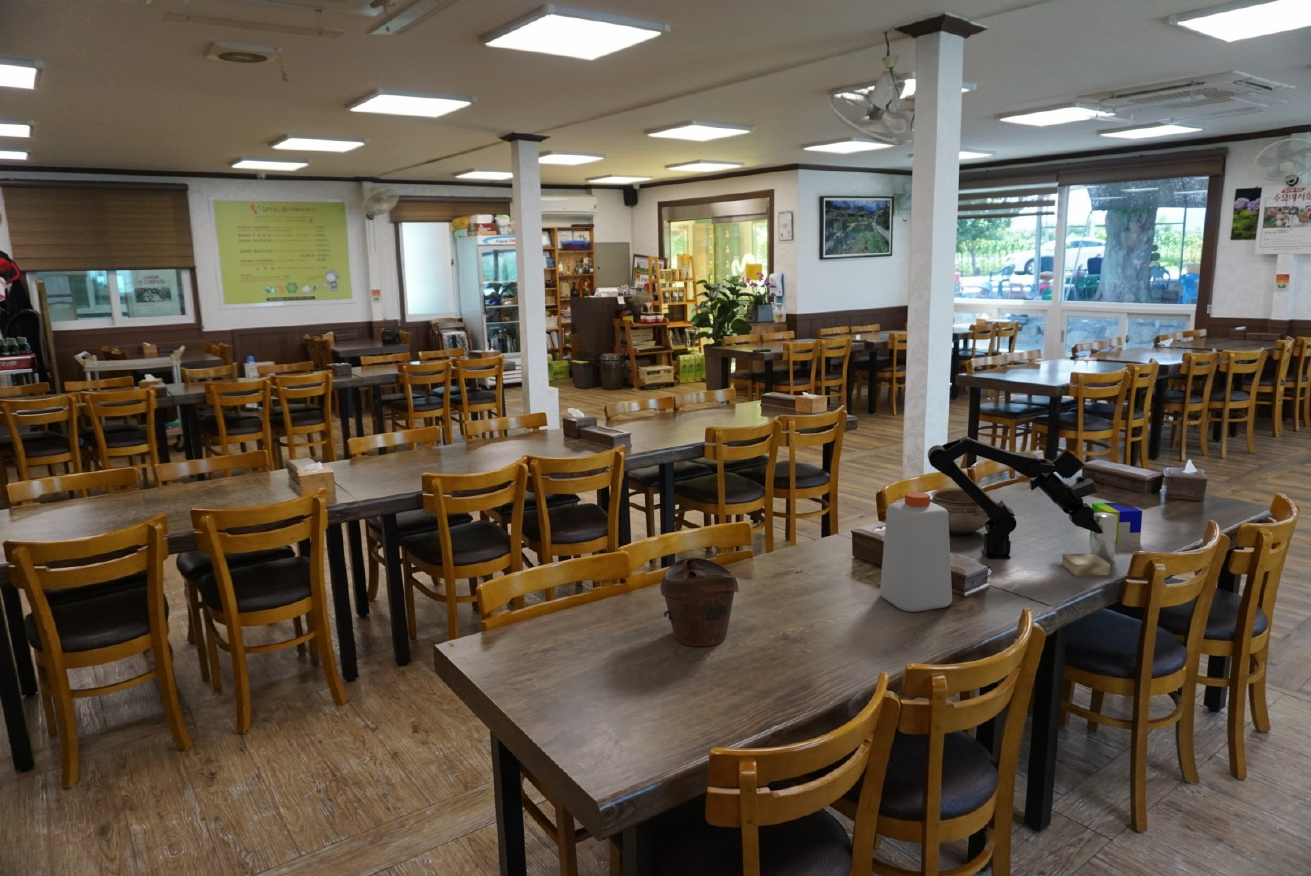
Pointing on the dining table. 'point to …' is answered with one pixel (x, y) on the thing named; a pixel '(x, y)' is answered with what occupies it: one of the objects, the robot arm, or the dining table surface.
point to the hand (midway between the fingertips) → (1096, 527)
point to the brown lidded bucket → (698, 600)
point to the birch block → (1086, 564)
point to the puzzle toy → (1123, 520)
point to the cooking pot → (960, 510)
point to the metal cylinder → (1104, 536)
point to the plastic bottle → (916, 555)
